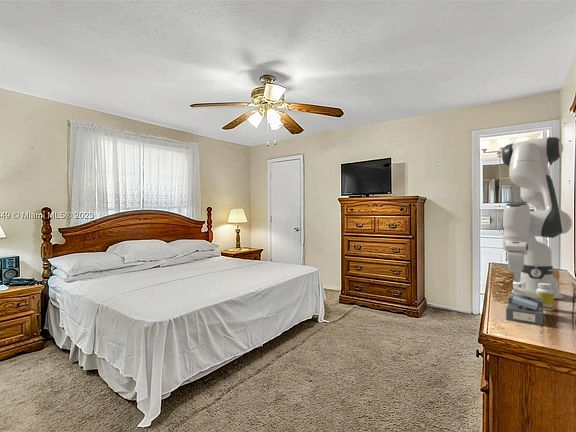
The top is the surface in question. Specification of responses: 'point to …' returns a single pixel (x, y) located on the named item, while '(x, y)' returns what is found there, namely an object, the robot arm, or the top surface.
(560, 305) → the top surface
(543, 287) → the supplement bottle
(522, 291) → the rocker rear
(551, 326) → the top surface
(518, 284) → the milkshake
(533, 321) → the console
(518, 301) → the rocker front
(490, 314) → the top surface
